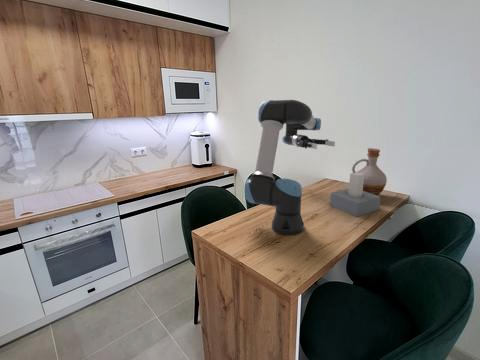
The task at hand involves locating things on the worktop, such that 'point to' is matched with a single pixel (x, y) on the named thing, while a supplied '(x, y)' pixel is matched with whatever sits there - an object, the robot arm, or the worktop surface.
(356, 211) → the well block
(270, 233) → the worktop surface
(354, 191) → the post
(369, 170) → the jug
